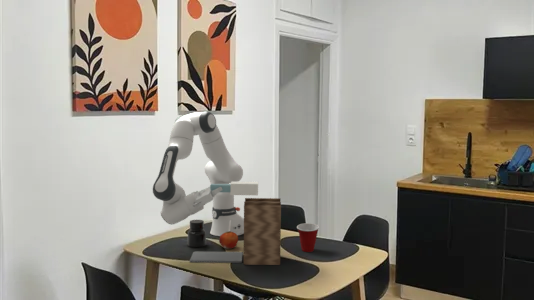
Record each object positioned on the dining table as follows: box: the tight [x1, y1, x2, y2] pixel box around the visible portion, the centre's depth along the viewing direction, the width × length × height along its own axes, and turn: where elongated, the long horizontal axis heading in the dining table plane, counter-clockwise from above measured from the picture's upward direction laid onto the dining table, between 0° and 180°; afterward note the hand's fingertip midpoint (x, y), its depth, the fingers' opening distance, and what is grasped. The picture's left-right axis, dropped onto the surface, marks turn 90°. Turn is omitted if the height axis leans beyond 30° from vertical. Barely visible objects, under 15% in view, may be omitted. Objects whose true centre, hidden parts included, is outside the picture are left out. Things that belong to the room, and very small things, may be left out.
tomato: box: [219, 231, 239, 250], centre depth 246 cm, size 9×9×8 cm
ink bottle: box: [187, 219, 207, 248], centre depth 249 cm, size 10×9×12 cm
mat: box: [189, 250, 244, 264], centre depth 231 cm, size 23×13×1 cm, turn 90°
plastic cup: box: [296, 222, 320, 253], centre depth 243 cm, size 11×11×12 cm
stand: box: [243, 197, 282, 266], centre depth 227 cm, size 16×14×27 cm
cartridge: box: [209, 181, 259, 196], centre depth 225 cm, size 21×6×5 cm, turn 90°
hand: (222, 187), depth 225 cm, fingers closed on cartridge, 3 cm apart
